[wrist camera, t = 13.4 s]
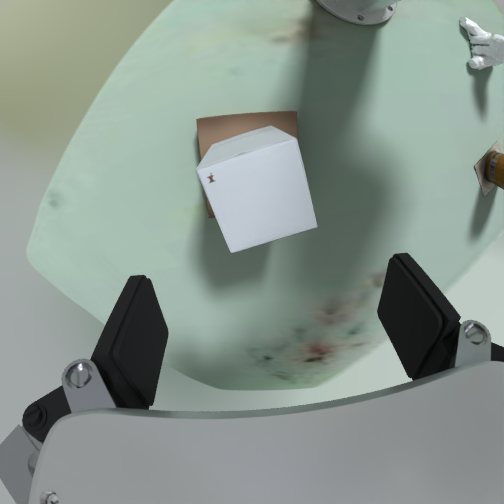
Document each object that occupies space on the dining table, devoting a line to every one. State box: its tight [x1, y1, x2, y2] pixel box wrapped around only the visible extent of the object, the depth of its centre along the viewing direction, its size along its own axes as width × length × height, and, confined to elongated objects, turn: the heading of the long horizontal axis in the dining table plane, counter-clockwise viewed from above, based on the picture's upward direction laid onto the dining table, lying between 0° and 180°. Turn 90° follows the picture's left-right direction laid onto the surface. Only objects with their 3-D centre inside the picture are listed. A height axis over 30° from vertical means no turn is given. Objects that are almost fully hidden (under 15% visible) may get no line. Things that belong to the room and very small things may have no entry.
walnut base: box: [196, 111, 298, 218], centre depth 32 cm, size 12×11×3 cm
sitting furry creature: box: [460, 17, 504, 70], centre depth 17 cm, size 10×9×12 cm
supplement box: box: [196, 125, 317, 253], centre depth 25 cm, size 7×7×13 cm
